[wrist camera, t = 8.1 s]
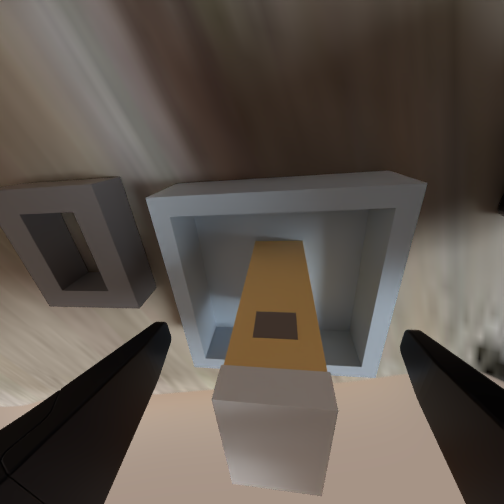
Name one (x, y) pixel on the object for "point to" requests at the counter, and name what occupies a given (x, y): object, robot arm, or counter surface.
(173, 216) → the parts tray
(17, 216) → the block
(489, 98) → the counter surface
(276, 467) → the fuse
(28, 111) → the counter surface
